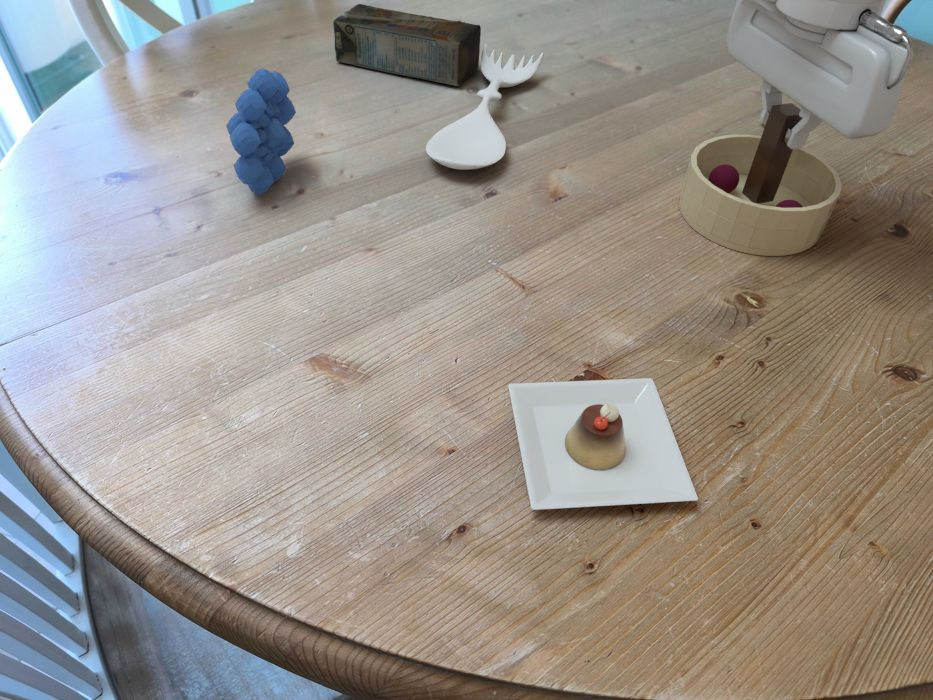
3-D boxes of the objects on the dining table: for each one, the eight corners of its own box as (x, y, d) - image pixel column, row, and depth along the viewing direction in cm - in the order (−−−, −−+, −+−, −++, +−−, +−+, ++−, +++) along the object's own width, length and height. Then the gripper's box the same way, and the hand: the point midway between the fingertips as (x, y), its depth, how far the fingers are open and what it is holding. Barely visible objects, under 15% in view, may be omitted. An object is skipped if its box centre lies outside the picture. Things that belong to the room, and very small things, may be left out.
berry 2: (785, 217, 80) (796, 191, 78) (805, 234, 78) (816, 208, 76) (761, 222, 79) (770, 196, 77) (779, 239, 77) (790, 213, 75)
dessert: (529, 518, 52) (537, 477, 49) (506, 393, 61) (511, 350, 58) (694, 509, 54) (713, 468, 50) (649, 387, 62) (662, 345, 59)
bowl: (764, 169, 89) (780, 126, 85) (852, 242, 79) (874, 197, 75) (653, 188, 85) (664, 144, 81) (730, 267, 75) (746, 221, 71)
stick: (759, 189, 81) (791, 102, 74) (773, 201, 80) (807, 113, 73) (741, 193, 81) (771, 105, 74) (754, 204, 79) (787, 116, 72)
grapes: (259, 149, 87) (242, 46, 79) (313, 159, 86) (302, 55, 78) (210, 202, 79) (185, 93, 71) (270, 213, 78) (252, 104, 70)
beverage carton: (360, 43, 110) (357, -4, 106) (481, 68, 106) (484, 20, 101) (334, 63, 105) (330, 14, 100) (461, 91, 100) (463, 41, 96)
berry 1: (723, 182, 85) (732, 157, 83) (740, 197, 83) (749, 171, 80) (699, 186, 84) (707, 161, 82) (715, 201, 82) (724, 175, 80)
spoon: (544, 73, 106) (547, 49, 103) (492, 189, 83) (495, 161, 81) (482, 64, 107) (483, 39, 105) (415, 175, 84) (415, 148, 82)
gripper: (951, 34, 60) (877, 185, 69) (790, -46, 73) (747, 89, 83) (888, 41, 58) (822, 195, 68) (736, -42, 72) (698, 96, 81)
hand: (779, 136), depth 75 cm, fingers closed on stick, 2 cm apart
